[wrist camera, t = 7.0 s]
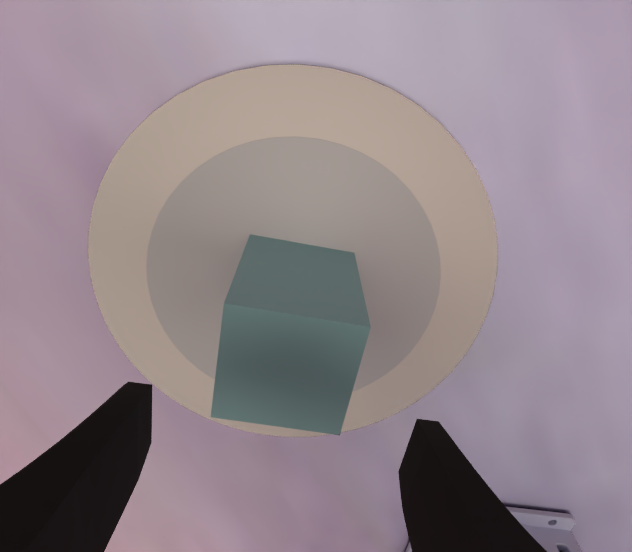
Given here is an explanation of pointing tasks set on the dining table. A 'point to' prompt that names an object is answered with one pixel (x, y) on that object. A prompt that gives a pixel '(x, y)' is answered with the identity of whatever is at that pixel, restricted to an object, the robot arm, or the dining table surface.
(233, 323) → the teal block
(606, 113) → the dining table surface
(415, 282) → the serving plate
